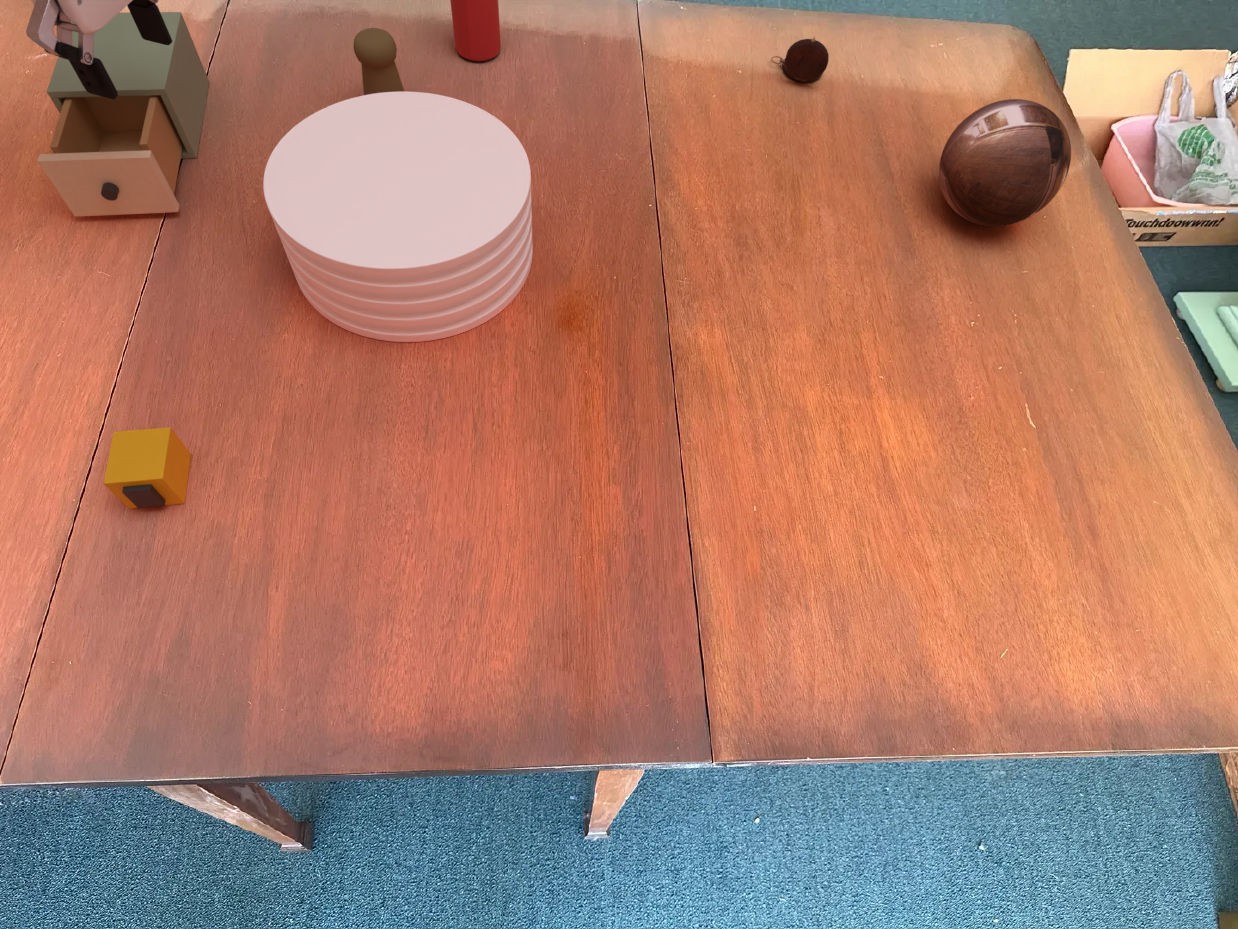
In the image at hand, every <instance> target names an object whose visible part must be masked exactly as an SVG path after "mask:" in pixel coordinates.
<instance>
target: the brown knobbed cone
mask: <svg viewBox="0 0 1238 929" xmlns="http://www.w3.org/2000/svg"><path fill="white" fill-rule="evenodd" d="M397 49H398V48H397V44H396V42H395V40H394V37H393V36H392V34H391V33H389V31H387V30H385V29H382V28H378V27H368V28H365V29H362V30H360V31H359V32H357V33H356V35H355V37H354V38H353V51H354V54H355V57H356V59H357V60H358V62H359V63H360V64H361V76H362V87H363V88H362V89H363V95H369V94H375V93H383V92H405V88H404V85H403V83H402V79H401V76H400V73H399V70H398V68H397V64H396V61H395V60H396V59H397V51H398V50H397Z"/></svg>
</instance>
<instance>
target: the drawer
mask: <svg viewBox="0 0 1238 929" xmlns="http://www.w3.org/2000/svg"><path fill="white" fill-rule="evenodd" d="M53 132H54V133H53V136H52V139H51V142H50V145H49V149H50V150H51V151H52V153H39V154H38V157H37V160H36V161H37V163H38V165H39V166H40V168H42V171H43V172H44V174H45V175H46V177H47V178H48V179H49V181H50V182H51V184H52V185H53V187H54V188H55V190H56V191H57V193H58V194H59V196H60V197H61V198H62V200H63V201H64V203H65V205H66V206H67V208H68V209H69V211H70V212H71V213H72V215H73V216H74V217H75V218H76V217H99V216H118V215H140V214H164V213H165V214H167V213H179V210H180V204H179V202H178V200H177V198H176V196H175V191H176V185H177V180H178V175H179V169H180V163H181V160H182V159H181V153H182V148H183V142H182V140H181V138H180V136H179V134H178V131H177V129H176V127H175V125H174V123H173V121H172V119H171V117H170V114H169V112H168V110H167V108H166V106H165V104H164V102H163V100H162V98H161V95H149V96H117V97H116V98H115V99H110V98H106V97H65V100H64V103H63V106H62V110H61V113H59V117H58V119H57V122H56V126H55V130H54V131H53Z"/></svg>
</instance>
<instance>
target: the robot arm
mask: <svg viewBox="0 0 1238 929" xmlns="http://www.w3.org/2000/svg"><path fill="white" fill-rule="evenodd" d="M31 2H32V5H33V8H32V11H31V15H30V18H29V20H28V24H27V26H26V30H25V33H26V36H27V37H28V38H29V39H30V41H32V42H33V43H35V44H36V45H38V46H39V47H40V48H42V49H43V50H44V51H45V52H46V53H47V54H50V55H53V56H55V57H57V58H58V57H61V58H63V59H67V60H69V62H70V63H71V65H72V67H73V69H74V70H75V72H76V74H77V76H78V78H79V79H80V81H81V83H82V85H83V86H84V88H85V89H86V91H87V92H89V93H91V94H94V95H98V96H102V97H106V98H110V99H115V98H116V97H117V96H118V92H117V90H116V88H115V86H114V84H113V82H112V80H111V79H110V77H109V75H108V73H107V71H106V69H105V67H104V65H103V63H102V61H101V60H100V59H98V58H94V57H93V34H94V33H95V32H97V31H99V30H100V29H101V28H102V27H103V26H105V25H106V24H107V23H108V22H109V21H110V20H111V19H113V18H114V17H115V16H116V15H117V14H118V13H121V12H122V11H123V10H124V9H125V8H126V7H127V8H128V11H129V13H131V15H132V17H133V19H134V22H135V24H136V26H137V28H138V30H139V32H140V34H141V37H142V38H143V39H144V40H147V41H151V42H156V43H160V44H164V45H170V44H171V43H172V39H171V36H170V34H169V32H168V29H167V27H166V25H165V22H164V20H163V18H162V15H161V13H160V12H161V11H160V8H159V6H158V4H157V3H159V0H31ZM71 21H72V22H73V23H76V24H77V25H76V24H72V23H71ZM55 26H56V35H55V33H54V27H55ZM72 31H75V32H78V48H77V47H74V46H72Z"/></svg>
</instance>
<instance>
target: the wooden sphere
mask: <svg viewBox="0 0 1238 929" xmlns="http://www.w3.org/2000/svg"><path fill="white" fill-rule="evenodd" d="M1069 135H1070V134H1069V132H1068V130H1067V128H1066V126H1065V124H1064V123H1063V121H1062V120H1061V118H1060V117H1059V116H1058V115H1057V114H1056V113H1055V112H1053V111H1052V110H1051V109H1050V108H1048V107H1047V106H1045V105H1043V104H1041V103H1038V102H1036V101H1034V100H1033V101H1032V100H1029V99H1022V98H1021V99H1020V98H1010V99H1002V100H998V101H995V102H991V103H989V104H986V105H985V106H982V107H980V108H978V109H977V110H975V111H973V112H972V113H970V114H969V115H968V116H966V117H965V118H964V119H963V120H962V121H961V122H960V123H959V124H957V126H956V127H955V128H954V130H953V131H952V133H951V134H950V136H949V137H948V139H947V141H946V143H945V144H944V147H943V149H942V152H941V156H940V160H939V165H938V166H939V167H938V180H939V187H940V190H941V192H942V195H943V197H944V199H945V202H946V203H947V204H948V206H950V208H951V209H952V210H953V211H954V212H955V213H956V214H957V215H958V216H960V217H962V219H965V220H966V221H968V222H970V223H973V224H976V225H980V226H985V227H1005V226H1009V225H1014V224H1017V223H1021V222H1022V221H1025V220H1027V219H1029V218H1031V217H1032V216H1034V215H1036V214H1037V213H1039V212H1040V211H1041V210H1043V209H1044V208H1045V207H1046V206H1048V205H1049V204H1050V202H1052V200H1053V199H1054V198H1055V197H1056V195H1058V193H1059V191H1060V190H1061V189H1062V187H1063V185H1064V183H1065V181H1066V179H1067V176H1068V174H1069V172H1070V171H1069V170H1070V167H1071V162H1072V144H1071V138H1070V136H1069Z"/></svg>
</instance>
